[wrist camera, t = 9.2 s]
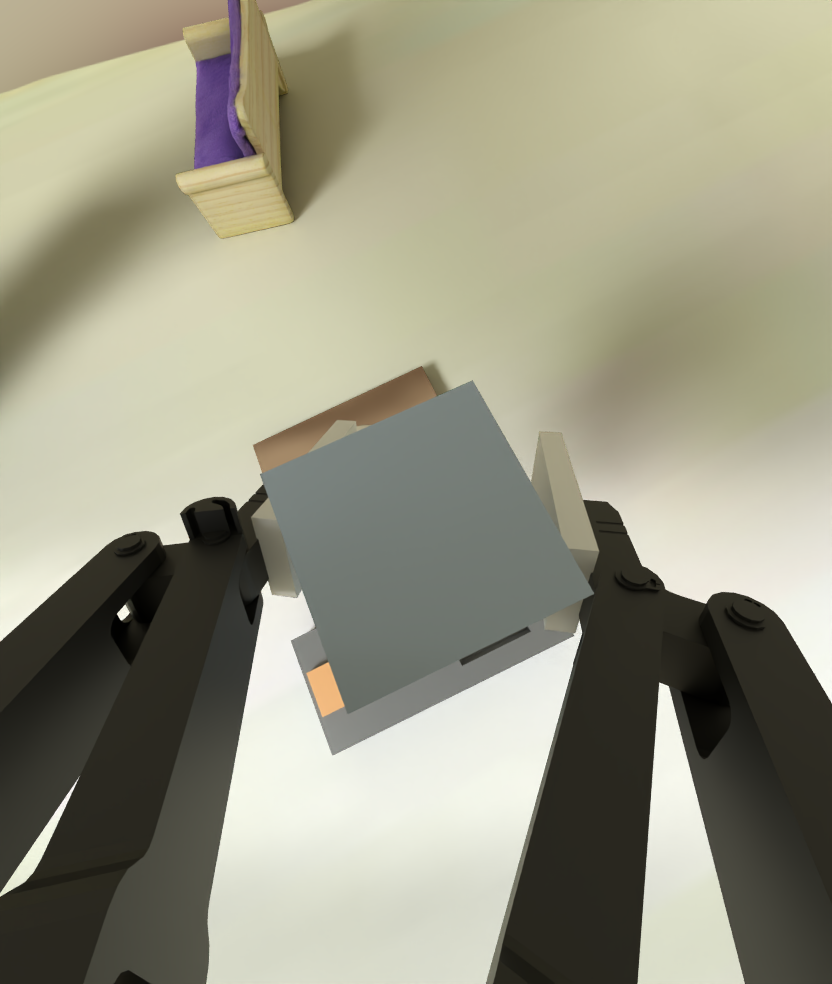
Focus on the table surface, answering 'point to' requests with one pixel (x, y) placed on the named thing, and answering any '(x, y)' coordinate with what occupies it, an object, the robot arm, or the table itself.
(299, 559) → the brick
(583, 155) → the table surface
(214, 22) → the toy sofa
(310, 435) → the walnut pad
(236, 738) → the robot arm
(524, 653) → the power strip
